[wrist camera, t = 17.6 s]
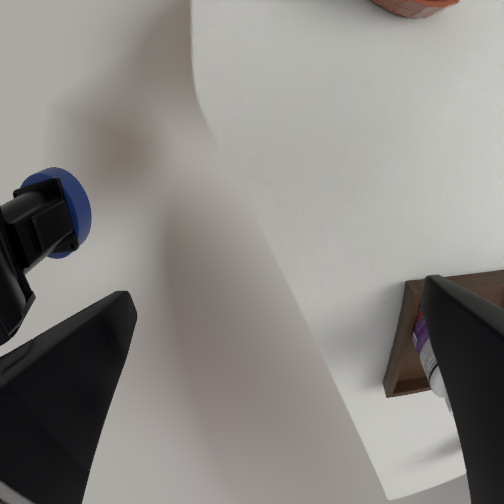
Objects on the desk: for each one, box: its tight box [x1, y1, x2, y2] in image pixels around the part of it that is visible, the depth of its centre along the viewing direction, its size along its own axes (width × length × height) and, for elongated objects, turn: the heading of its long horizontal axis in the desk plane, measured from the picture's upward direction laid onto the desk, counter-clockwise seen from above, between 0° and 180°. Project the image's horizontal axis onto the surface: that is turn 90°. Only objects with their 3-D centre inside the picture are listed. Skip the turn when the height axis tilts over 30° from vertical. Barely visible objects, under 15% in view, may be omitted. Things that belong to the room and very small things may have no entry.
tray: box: [383, 270, 504, 398], centre depth 24 cm, size 14×13×2 cm
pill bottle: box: [411, 306, 453, 416], centre depth 19 cm, size 5×5×10 cm
